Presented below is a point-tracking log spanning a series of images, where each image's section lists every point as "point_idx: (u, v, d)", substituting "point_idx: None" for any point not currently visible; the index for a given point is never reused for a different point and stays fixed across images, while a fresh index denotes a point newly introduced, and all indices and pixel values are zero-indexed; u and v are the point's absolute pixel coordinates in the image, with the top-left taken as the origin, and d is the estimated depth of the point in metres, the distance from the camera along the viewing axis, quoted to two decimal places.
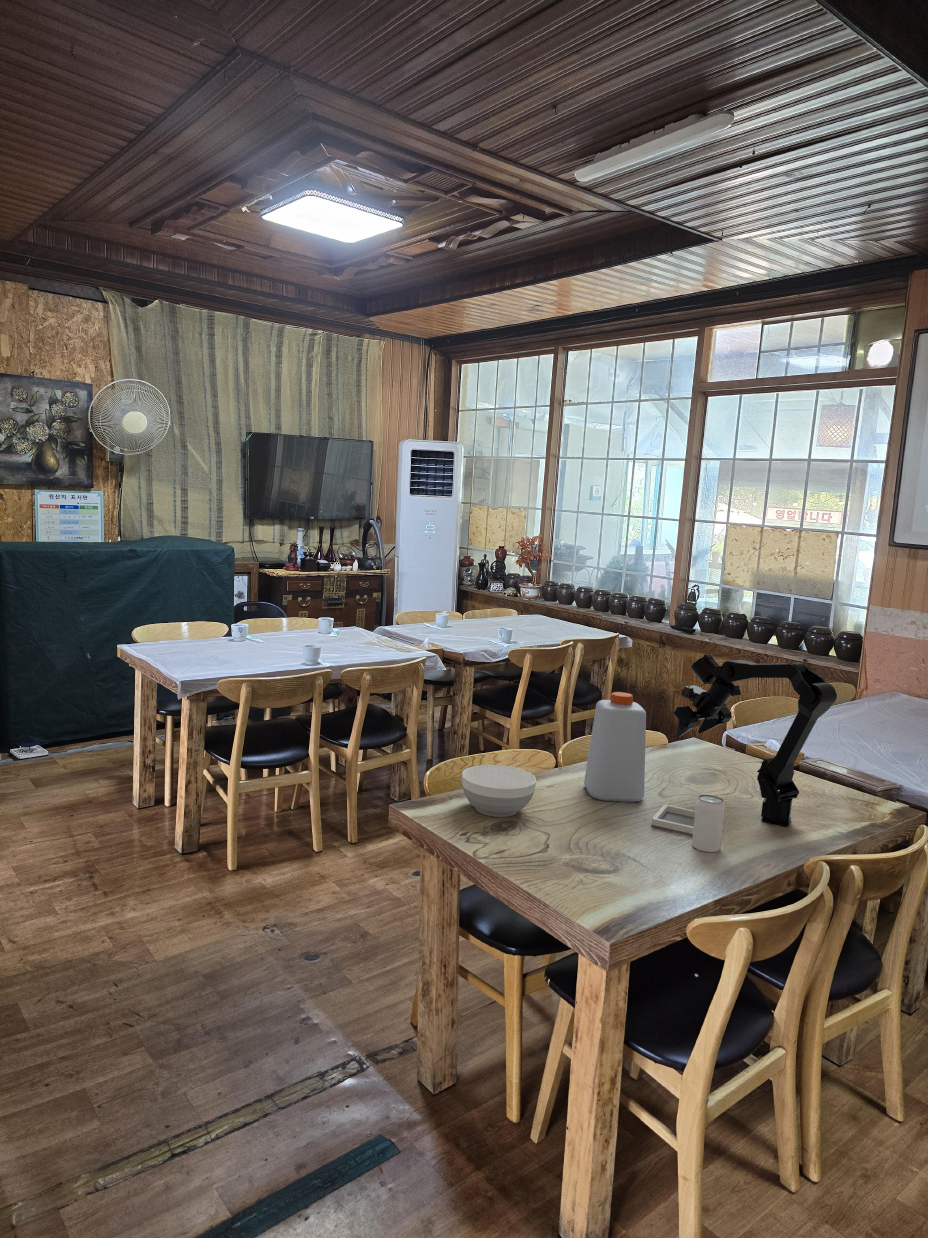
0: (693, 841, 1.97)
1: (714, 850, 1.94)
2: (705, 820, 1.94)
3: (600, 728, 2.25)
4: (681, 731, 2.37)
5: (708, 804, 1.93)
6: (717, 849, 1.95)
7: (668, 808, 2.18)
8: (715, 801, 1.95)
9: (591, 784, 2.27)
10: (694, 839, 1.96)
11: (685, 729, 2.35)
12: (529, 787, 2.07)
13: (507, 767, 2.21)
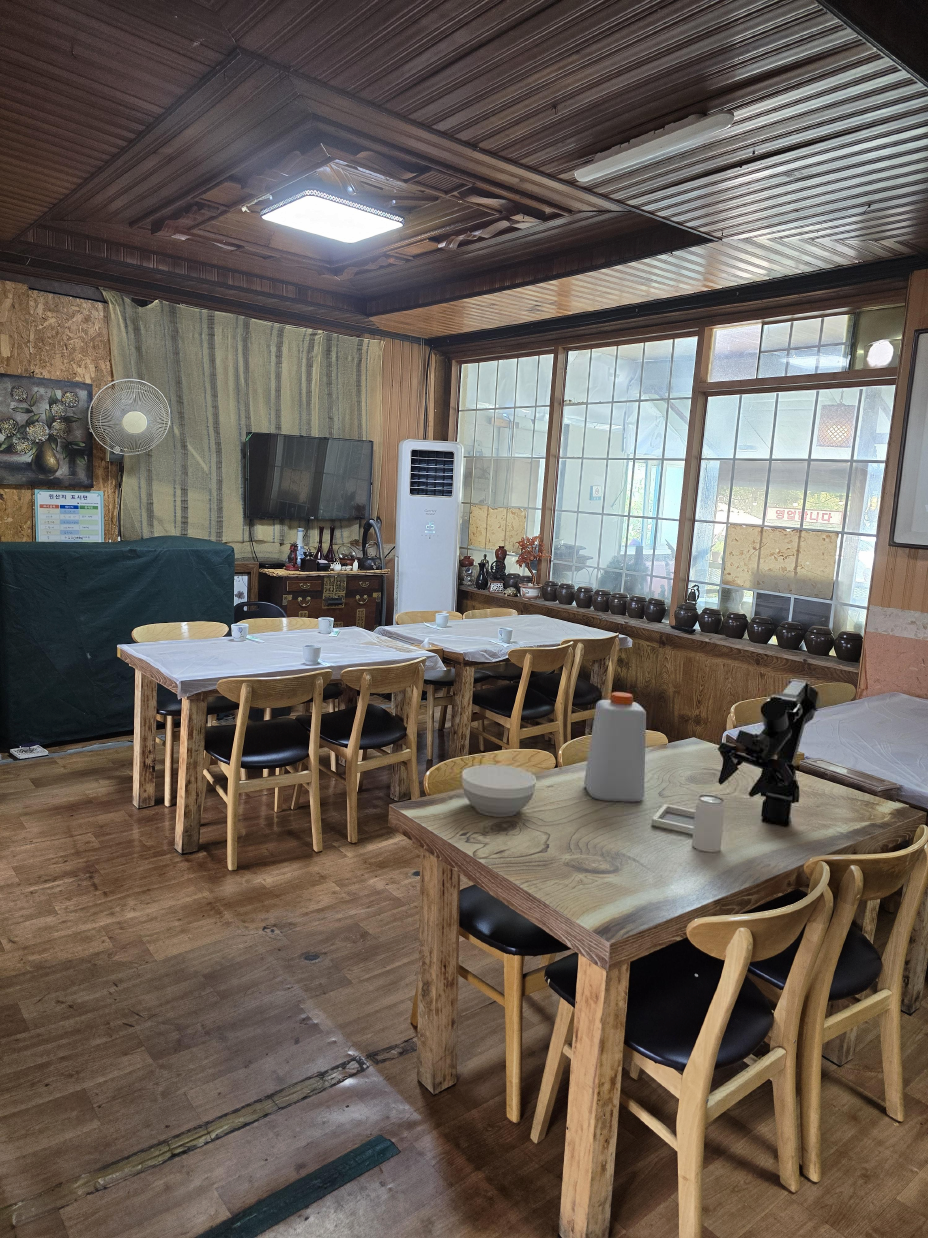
0: (693, 841, 1.97)
1: (714, 850, 1.94)
2: (705, 820, 1.94)
3: (600, 728, 2.25)
4: (761, 790, 1.96)
5: (708, 804, 1.93)
6: (717, 849, 1.95)
7: (668, 808, 2.18)
8: (715, 801, 1.95)
9: (591, 784, 2.27)
10: (694, 839, 1.96)
11: (769, 786, 1.96)
12: (529, 787, 2.07)
13: (507, 767, 2.21)
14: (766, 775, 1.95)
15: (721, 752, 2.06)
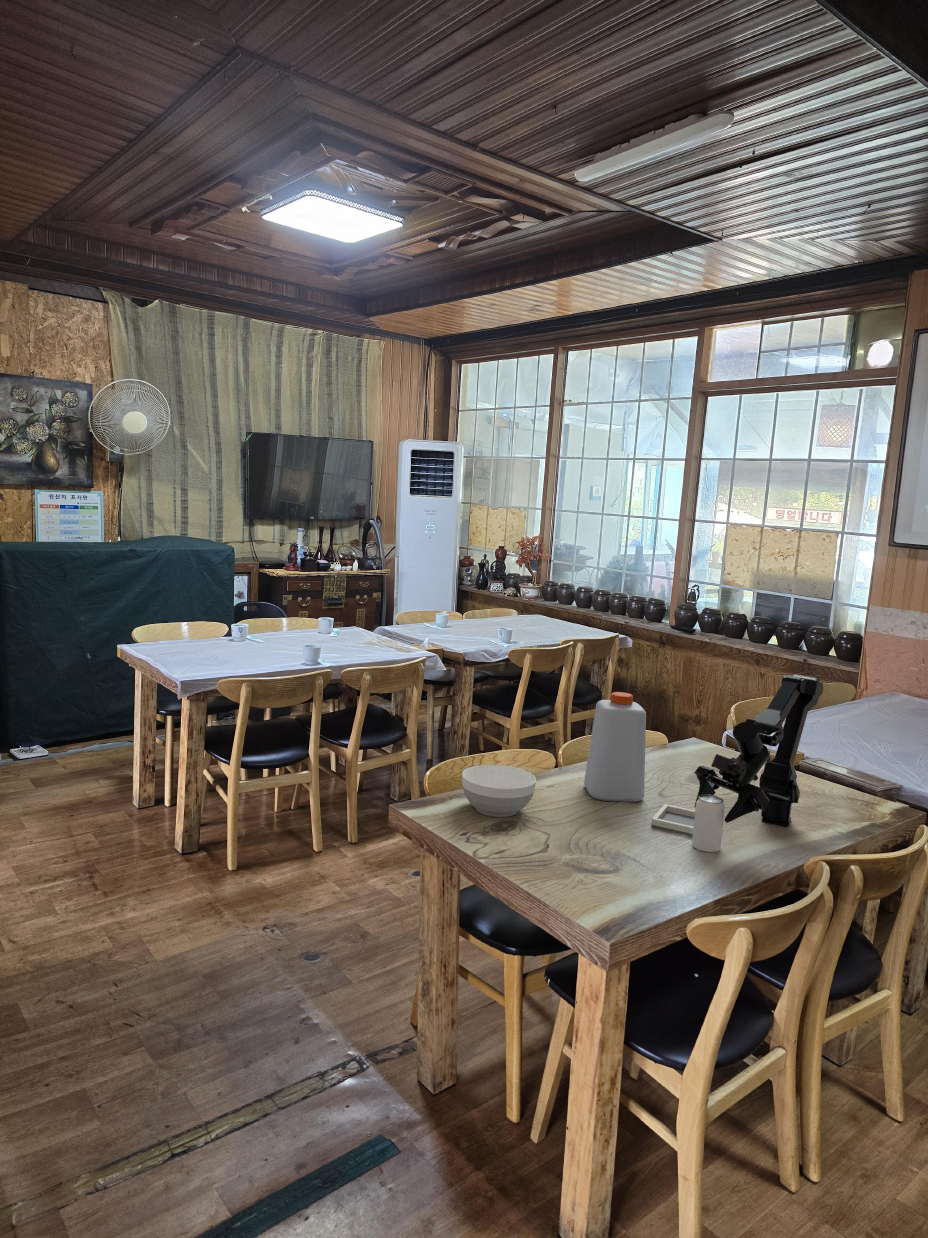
0: (693, 841, 1.97)
1: (714, 850, 1.94)
2: (705, 820, 1.94)
3: (600, 728, 2.25)
4: (737, 815, 1.93)
5: (708, 804, 1.93)
6: (717, 849, 1.95)
7: (668, 808, 2.18)
8: (715, 801, 1.95)
9: (591, 784, 2.27)
10: (694, 839, 1.96)
11: (745, 812, 1.93)
12: (529, 787, 2.07)
13: (507, 767, 2.21)
14: (742, 801, 1.92)
15: (698, 776, 2.03)
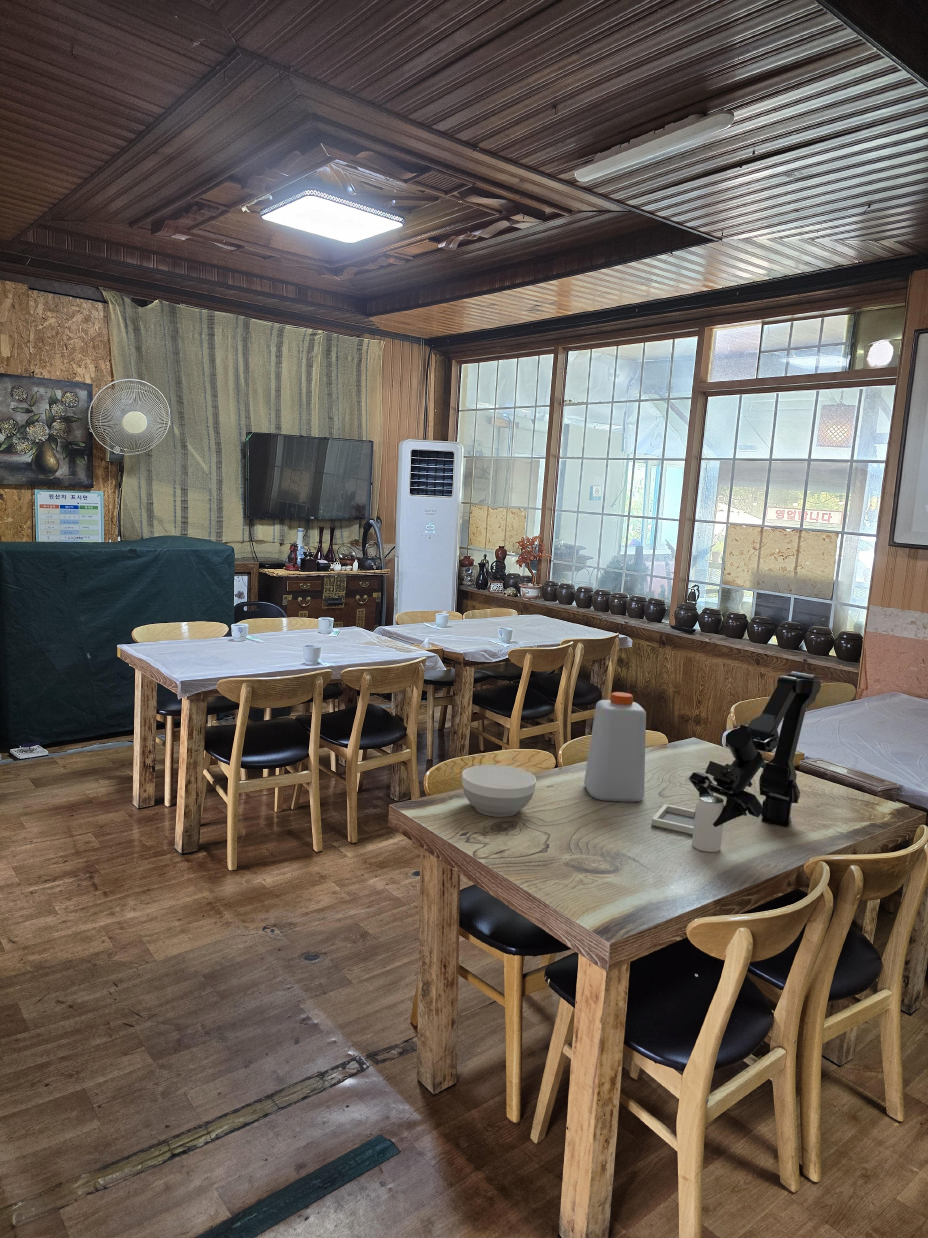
0: (693, 841, 1.97)
1: (714, 850, 1.94)
2: (705, 820, 1.93)
3: (600, 728, 2.25)
4: (725, 819, 1.93)
5: (708, 804, 1.93)
6: (717, 849, 1.95)
7: (668, 808, 2.18)
8: (715, 801, 1.95)
9: (591, 784, 2.27)
10: (694, 839, 1.96)
11: (734, 816, 1.94)
12: (529, 787, 2.07)
13: (507, 767, 2.21)
14: (730, 805, 1.92)
15: (697, 784, 2.01)
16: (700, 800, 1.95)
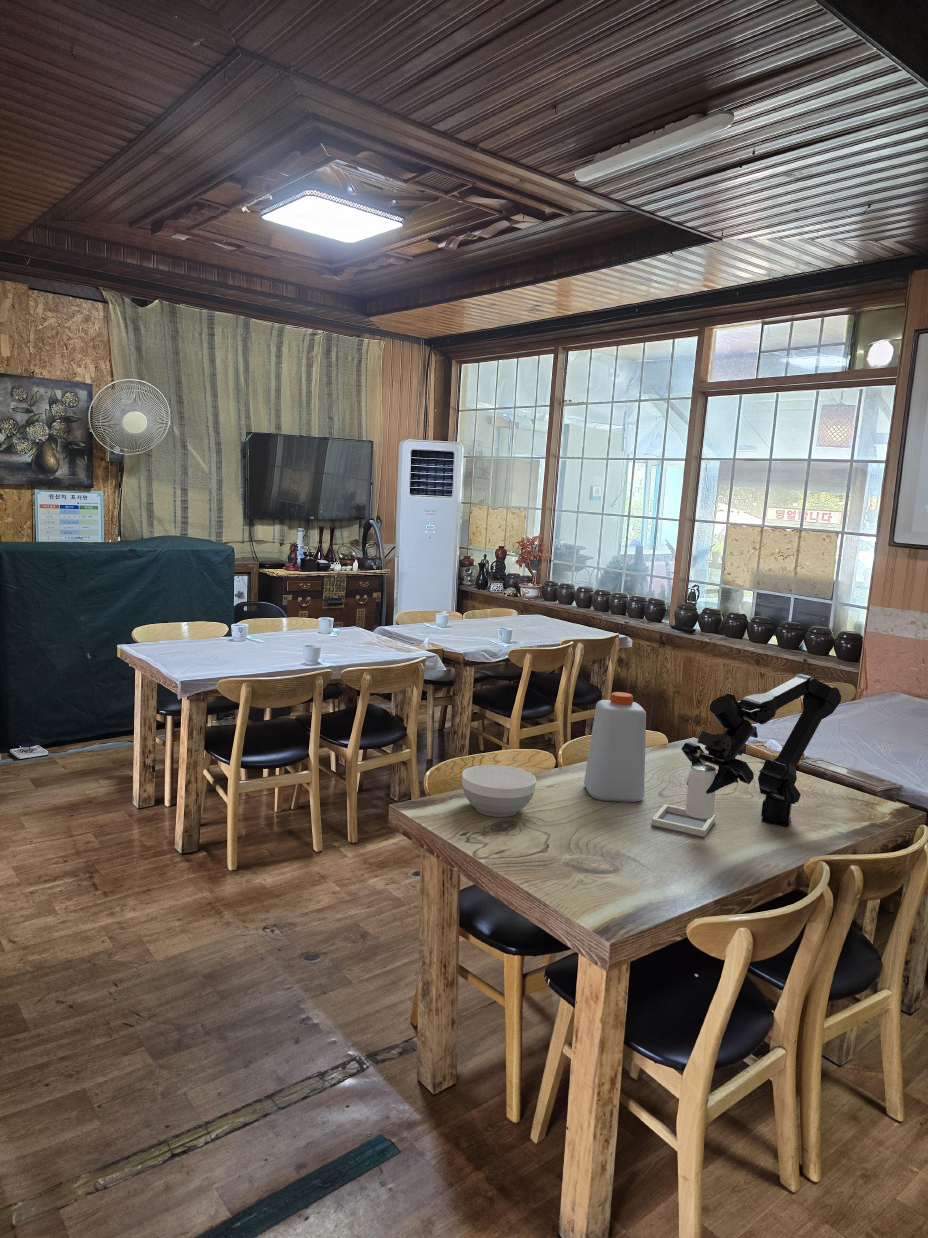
0: (687, 809, 2.02)
1: (707, 817, 2.00)
2: (698, 788, 1.99)
3: (600, 728, 2.25)
4: (717, 787, 1.99)
5: (700, 773, 1.99)
6: (710, 816, 2.00)
7: (668, 808, 2.18)
8: (707, 769, 2.01)
9: (591, 784, 2.27)
10: (688, 807, 2.02)
11: (725, 784, 2.00)
12: (529, 787, 2.07)
13: (507, 767, 2.21)
14: (722, 773, 1.98)
15: (690, 754, 2.07)
16: (693, 769, 2.01)
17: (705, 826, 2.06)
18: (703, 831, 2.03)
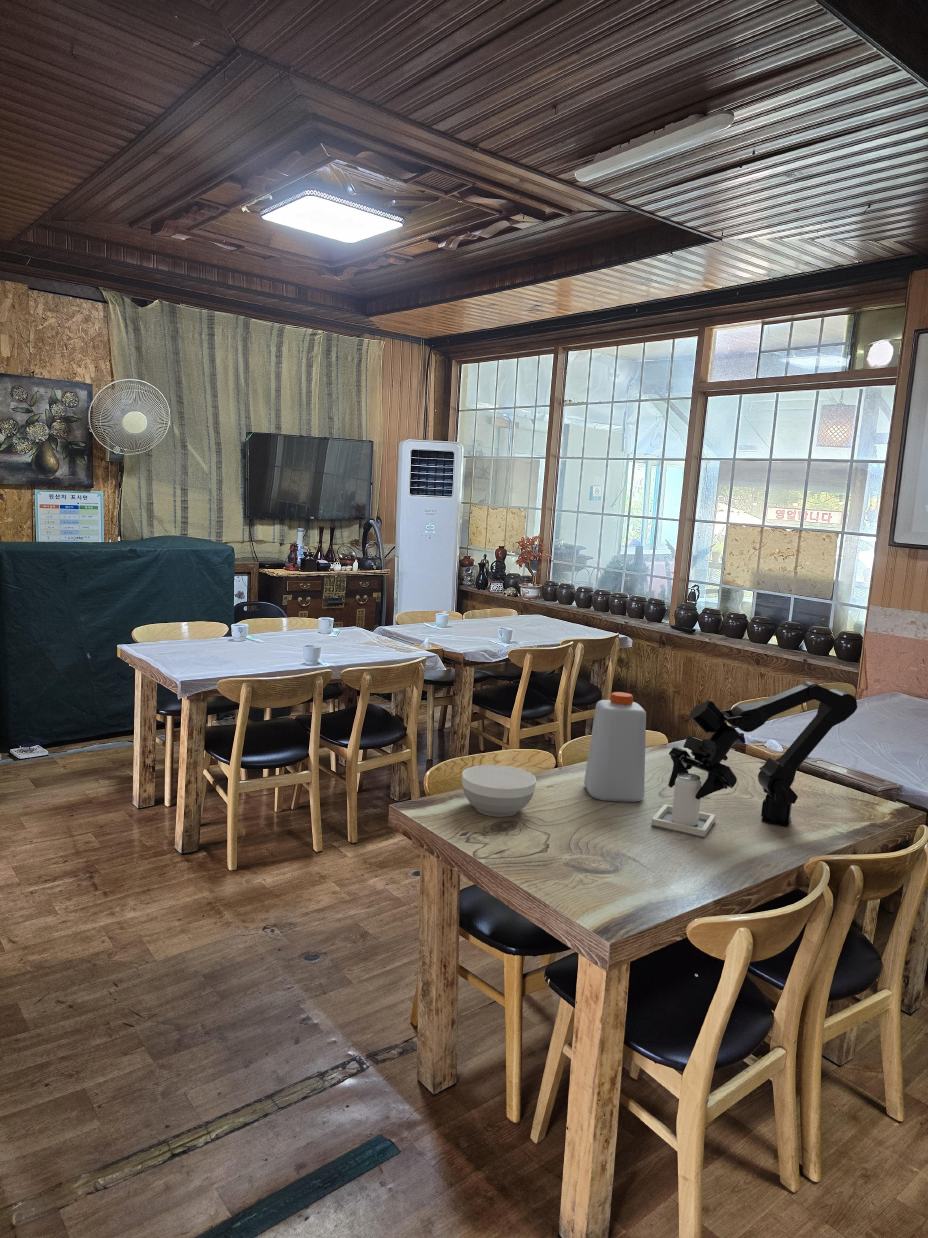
0: (672, 816, 2.11)
1: (692, 824, 2.08)
2: (683, 796, 2.08)
3: (600, 728, 2.25)
4: (707, 792, 2.06)
5: (685, 781, 2.08)
6: (695, 823, 2.09)
7: (668, 808, 2.18)
8: (692, 778, 2.09)
9: (591, 784, 2.27)
10: (673, 814, 2.10)
11: (715, 789, 2.06)
12: (529, 787, 2.07)
13: (507, 767, 2.21)
14: (712, 779, 2.05)
15: (672, 756, 2.16)
16: (678, 778, 2.09)
17: (705, 826, 2.06)
18: (703, 831, 2.03)
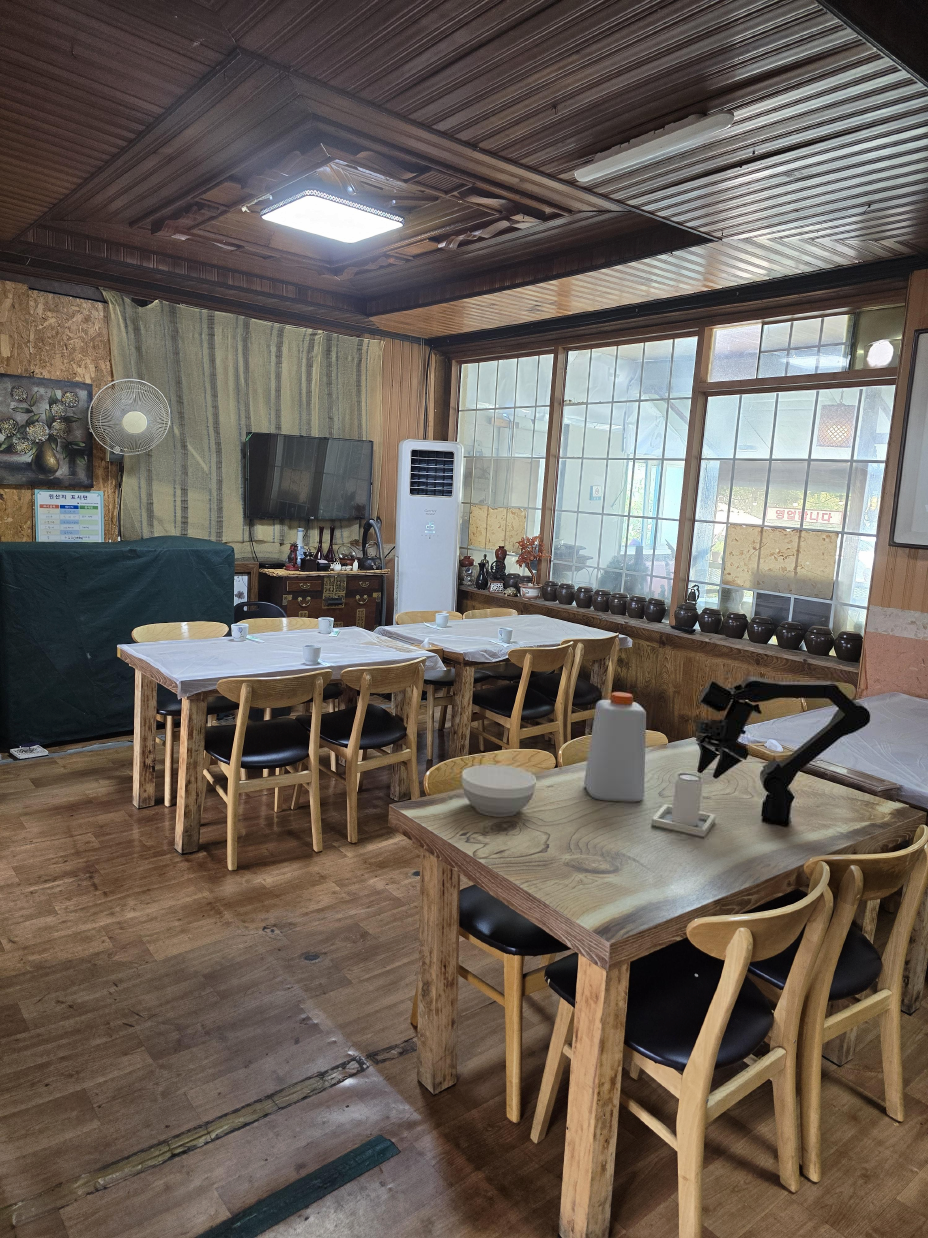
0: (673, 816, 2.11)
1: (692, 824, 2.08)
2: (683, 796, 2.08)
3: (600, 728, 2.25)
4: (723, 770, 2.10)
5: (686, 781, 2.07)
6: (695, 823, 2.09)
7: (668, 808, 2.18)
8: (693, 779, 2.09)
9: (591, 784, 2.27)
10: (673, 814, 2.10)
11: (731, 765, 2.10)
12: (529, 787, 2.07)
13: (507, 767, 2.21)
14: (722, 755, 2.09)
15: (697, 743, 2.23)
16: (679, 778, 2.09)
17: (705, 826, 2.06)
18: (703, 831, 2.03)
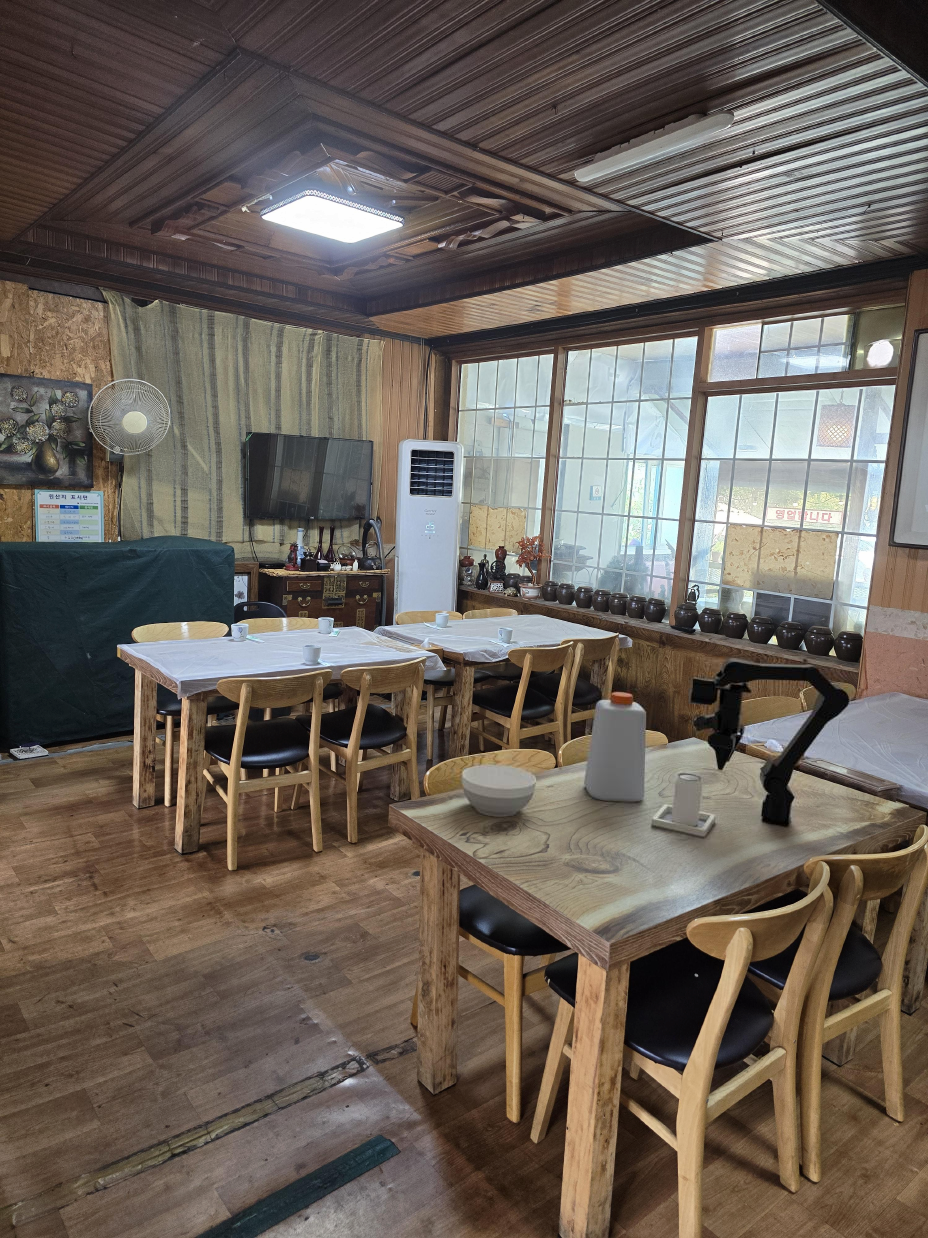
0: (673, 816, 2.11)
1: (692, 824, 2.08)
2: (683, 796, 2.08)
3: (600, 728, 2.25)
4: (723, 761, 2.14)
5: (686, 781, 2.07)
6: (695, 823, 2.09)
7: (668, 808, 2.18)
8: (693, 779, 2.09)
9: (591, 784, 2.27)
10: (673, 814, 2.10)
11: (727, 754, 2.13)
12: (529, 787, 2.07)
13: (507, 767, 2.21)
14: None
15: None
16: (679, 778, 2.09)
17: (705, 826, 2.06)
18: (703, 831, 2.03)
